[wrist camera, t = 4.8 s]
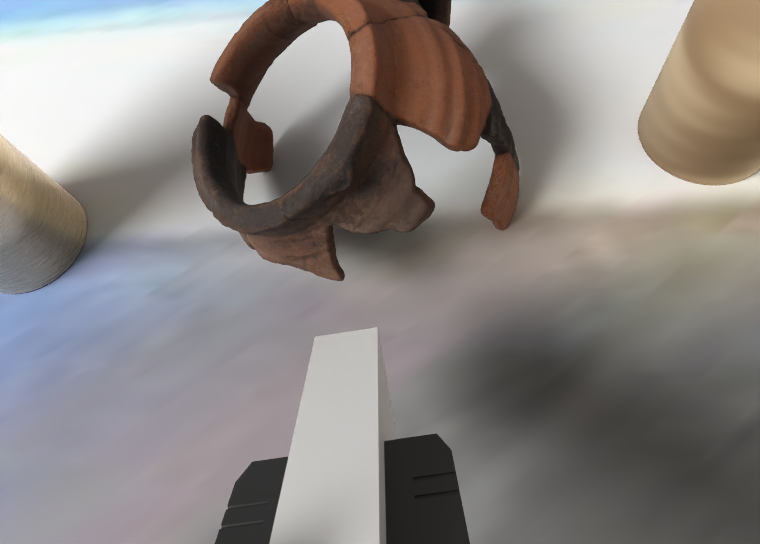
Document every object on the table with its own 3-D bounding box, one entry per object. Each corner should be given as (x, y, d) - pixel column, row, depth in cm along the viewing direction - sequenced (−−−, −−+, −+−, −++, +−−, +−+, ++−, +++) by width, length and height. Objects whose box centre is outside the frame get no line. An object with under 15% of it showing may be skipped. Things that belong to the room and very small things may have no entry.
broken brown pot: (527, 318, 18) (380, 264, 12) (317, 298, 24) (139, 255, 17) (566, -15, 20) (456, -224, 13) (360, 41, 26) (214, -87, 19)
